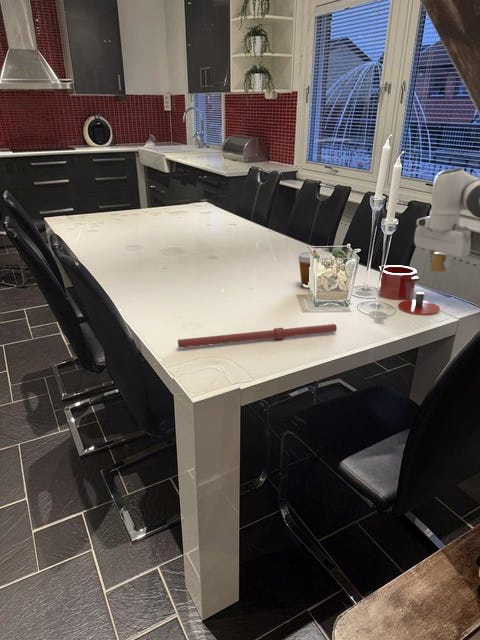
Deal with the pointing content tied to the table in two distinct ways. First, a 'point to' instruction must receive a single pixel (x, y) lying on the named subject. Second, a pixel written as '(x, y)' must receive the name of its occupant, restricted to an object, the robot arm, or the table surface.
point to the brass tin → (438, 261)
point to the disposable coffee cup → (304, 267)
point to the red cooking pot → (398, 282)
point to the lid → (419, 306)
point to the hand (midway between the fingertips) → (438, 265)
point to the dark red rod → (257, 335)
